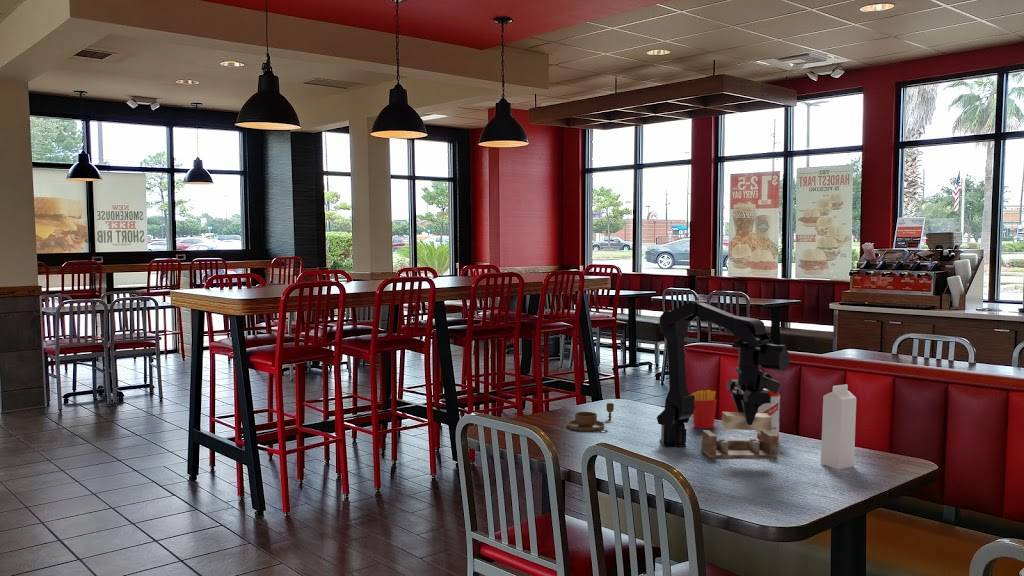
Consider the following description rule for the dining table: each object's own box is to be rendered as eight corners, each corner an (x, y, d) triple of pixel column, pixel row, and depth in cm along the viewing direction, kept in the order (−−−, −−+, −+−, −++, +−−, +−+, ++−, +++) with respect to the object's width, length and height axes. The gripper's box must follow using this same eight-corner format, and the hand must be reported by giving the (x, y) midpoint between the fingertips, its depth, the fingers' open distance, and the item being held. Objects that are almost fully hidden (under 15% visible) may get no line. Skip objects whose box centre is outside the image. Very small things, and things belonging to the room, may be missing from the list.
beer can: (779, 444, 237) (781, 391, 236) (758, 443, 238) (759, 390, 237) (777, 439, 243) (779, 387, 242) (755, 438, 244) (757, 386, 243)
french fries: (710, 424, 262) (711, 388, 261) (717, 427, 258) (718, 390, 257) (688, 426, 259) (689, 389, 258) (695, 429, 255) (696, 391, 254)
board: (725, 428, 215) (726, 415, 215) (721, 424, 220) (722, 411, 220) (770, 430, 214) (771, 417, 214) (765, 426, 219) (766, 413, 219)
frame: (709, 457, 221) (710, 436, 221) (701, 450, 229) (701, 429, 229) (776, 457, 222) (777, 436, 222) (765, 450, 230) (766, 429, 230)
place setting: (557, 424, 262) (557, 406, 261) (610, 419, 269) (611, 402, 269) (581, 436, 245) (581, 417, 245) (637, 431, 253) (637, 413, 252)
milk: (853, 467, 214) (857, 386, 213) (838, 470, 211) (842, 387, 210) (834, 461, 219) (838, 382, 218) (819, 464, 216) (823, 383, 215)
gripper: (792, 372, 207) (788, 431, 208) (766, 360, 226) (763, 414, 227) (749, 371, 207) (746, 430, 208) (727, 359, 225) (724, 414, 226)
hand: (746, 422), depth 217 cm, fingers closed on board, 5 cm apart
